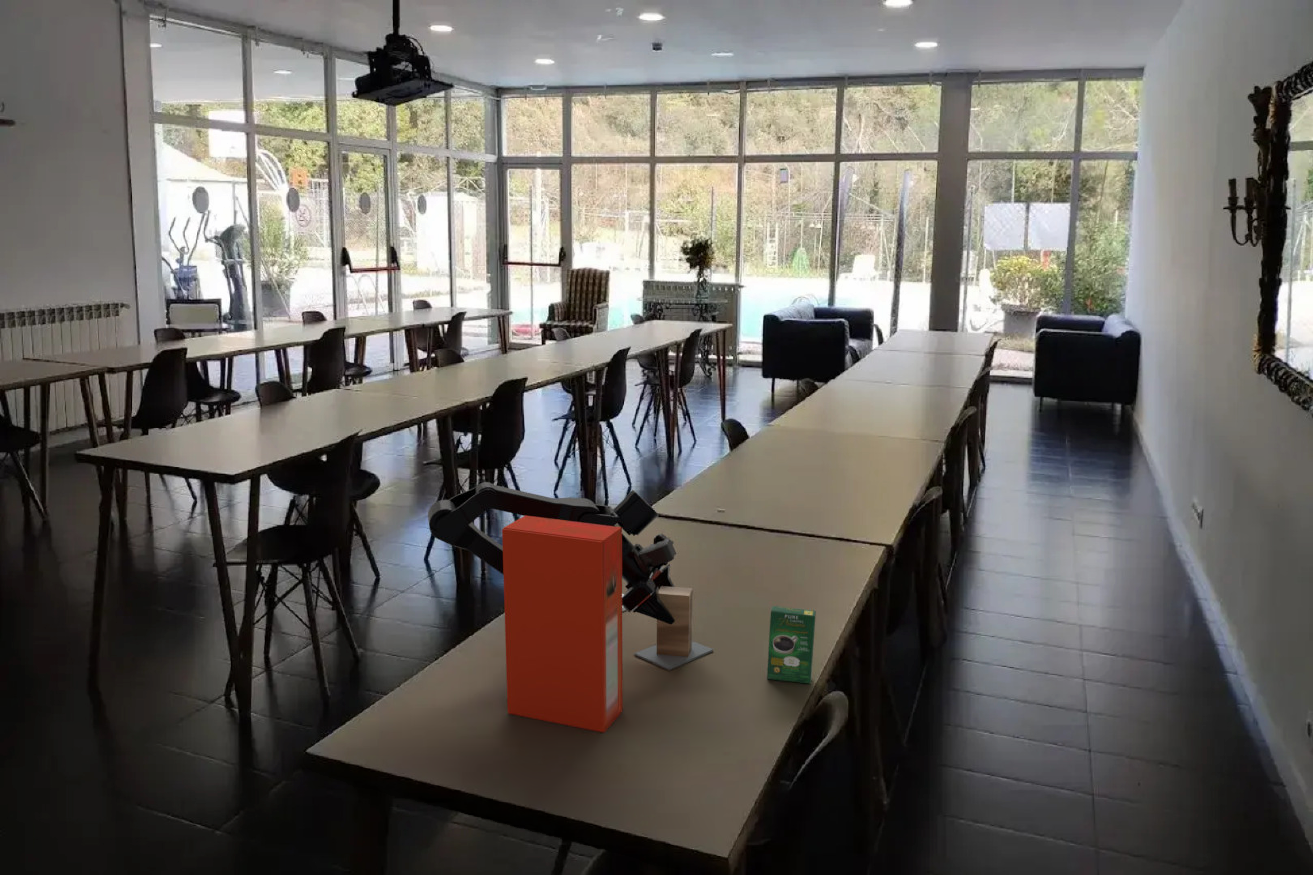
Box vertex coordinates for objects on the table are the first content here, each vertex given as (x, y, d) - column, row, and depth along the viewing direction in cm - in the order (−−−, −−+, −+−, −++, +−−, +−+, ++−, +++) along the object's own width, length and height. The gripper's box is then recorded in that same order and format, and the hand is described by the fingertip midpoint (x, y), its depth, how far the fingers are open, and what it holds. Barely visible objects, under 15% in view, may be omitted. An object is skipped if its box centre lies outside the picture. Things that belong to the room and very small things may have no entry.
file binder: (602, 734, 162) (601, 541, 155) (506, 714, 168) (502, 528, 161) (622, 711, 169) (622, 526, 162) (530, 694, 175) (526, 514, 168)
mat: (668, 670, 185) (668, 668, 185) (634, 655, 191) (634, 653, 191) (713, 651, 193) (713, 649, 193) (678, 637, 199) (678, 635, 199)
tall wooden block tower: (688, 656, 189) (689, 595, 187) (656, 654, 190) (657, 593, 188) (691, 648, 193) (692, 588, 191) (660, 645, 194) (661, 586, 192)
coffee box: (813, 678, 182) (816, 608, 179) (812, 685, 179) (815, 614, 177) (768, 673, 184) (770, 604, 181) (766, 680, 181) (768, 610, 178)
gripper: (640, 540, 179) (701, 605, 179) (659, 511, 196) (714, 570, 197) (596, 580, 182) (656, 643, 182) (618, 547, 199) (673, 605, 200)
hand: (677, 613), depth 190 cm, fingers open, 9 cm apart
